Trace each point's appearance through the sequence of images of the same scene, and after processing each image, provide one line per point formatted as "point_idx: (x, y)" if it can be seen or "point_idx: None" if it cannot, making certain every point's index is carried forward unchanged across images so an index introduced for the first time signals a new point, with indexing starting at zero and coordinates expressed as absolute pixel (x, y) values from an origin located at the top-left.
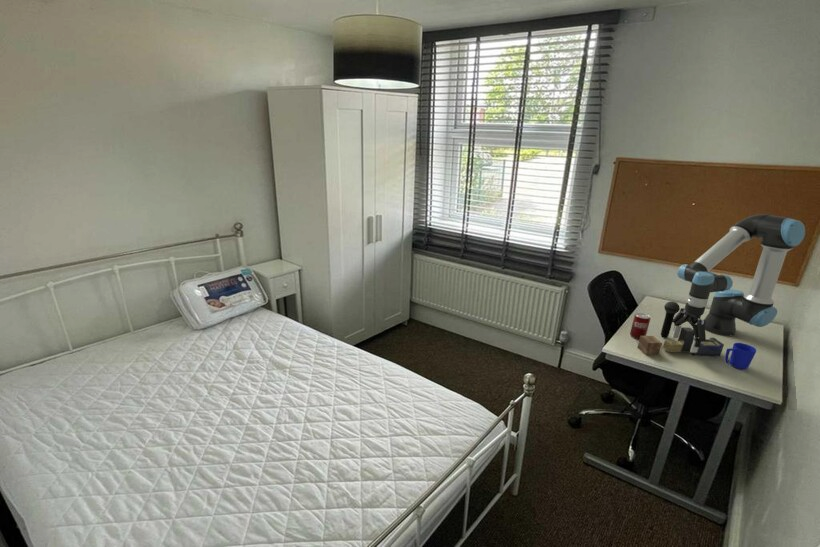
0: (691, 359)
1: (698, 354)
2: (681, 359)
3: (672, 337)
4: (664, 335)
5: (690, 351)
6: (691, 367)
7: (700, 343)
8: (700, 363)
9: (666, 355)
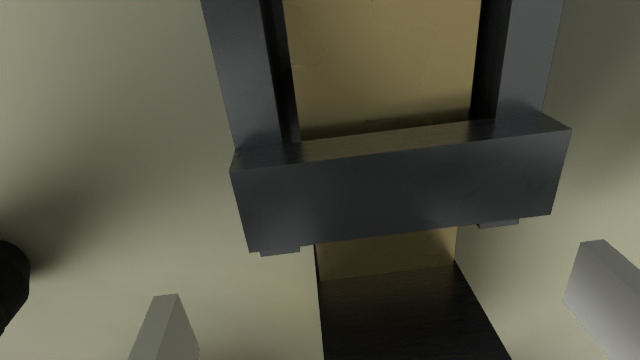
0: None
1: None
2: (501, 282)
3: (192, 357)
4: (21, 303)
5: (573, 306)
6: (636, 263)
7: (536, 179)
8: (604, 149)
9: None
